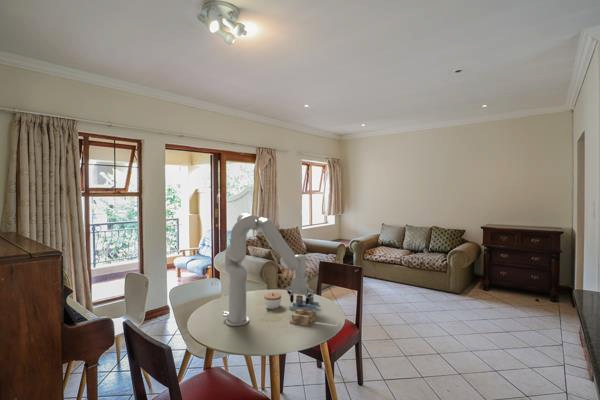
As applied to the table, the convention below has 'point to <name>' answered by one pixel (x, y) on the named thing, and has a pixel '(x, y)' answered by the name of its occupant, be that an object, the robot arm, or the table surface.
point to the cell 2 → (311, 299)
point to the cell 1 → (299, 301)
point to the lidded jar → (272, 300)
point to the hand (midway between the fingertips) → (299, 303)
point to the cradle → (303, 317)
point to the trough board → (305, 306)
